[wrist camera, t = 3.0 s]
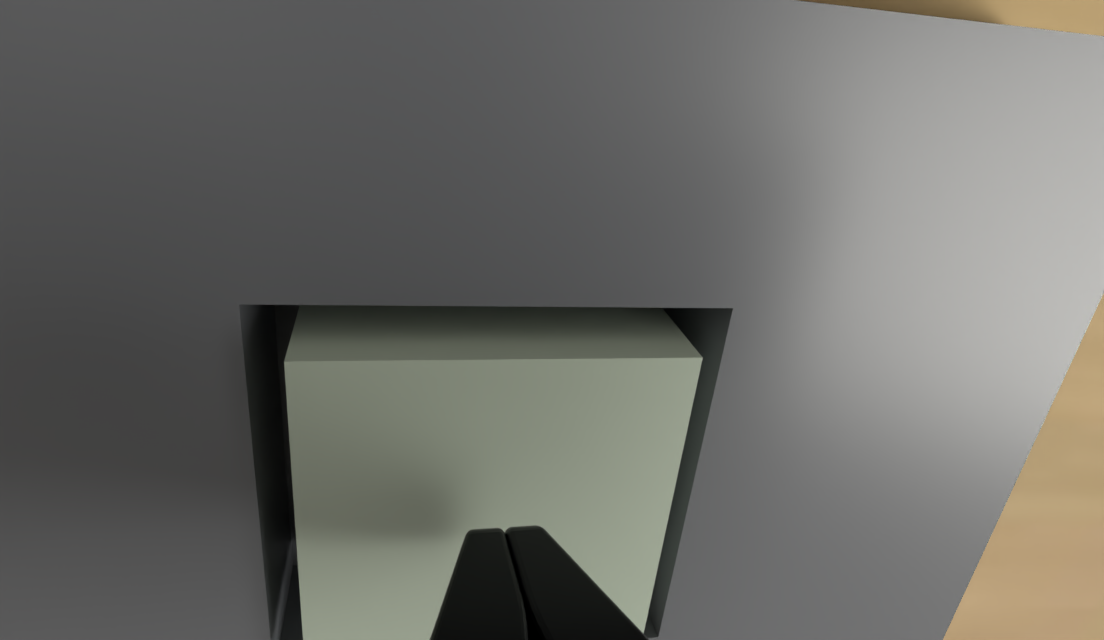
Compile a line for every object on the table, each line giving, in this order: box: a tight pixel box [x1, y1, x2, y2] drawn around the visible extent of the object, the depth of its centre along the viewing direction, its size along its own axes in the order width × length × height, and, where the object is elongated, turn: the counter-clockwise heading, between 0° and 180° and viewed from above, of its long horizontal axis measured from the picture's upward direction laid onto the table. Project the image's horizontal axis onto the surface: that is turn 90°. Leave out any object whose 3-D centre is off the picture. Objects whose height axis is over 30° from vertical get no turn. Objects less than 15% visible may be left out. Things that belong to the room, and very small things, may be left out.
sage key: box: [284, 305, 703, 640], centre depth 9 cm, size 4×4×2 cm
